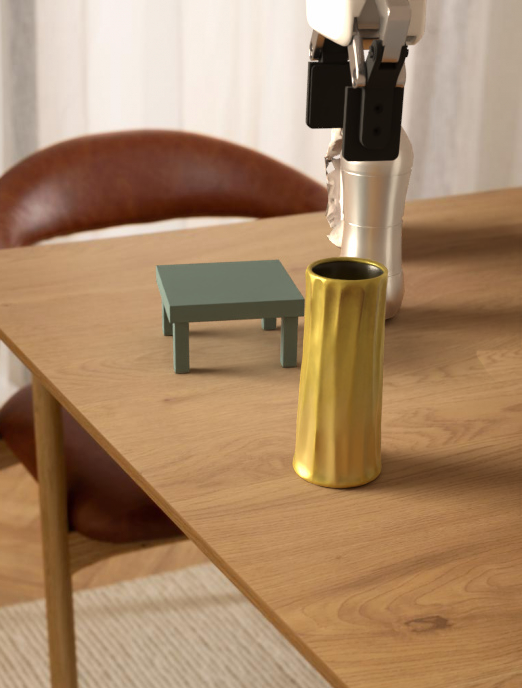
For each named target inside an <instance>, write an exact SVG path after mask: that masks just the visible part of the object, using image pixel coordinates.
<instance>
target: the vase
mask: <svg viewBox="0 0 522 688" xmlns="http://www.w3.org/2000/svg"><path fill="white" fill-rule="evenodd" d="M304 275H305V277H304V278H305V296H304V299H305V308H304V319H303V320H304V323H303V341H302V358H301V365H300V375H299V383H298V384H299V386H298V388H299V389H298V400H297V401H298V402H297V409H296V410H297V412H296V425H295V426H296V427H295V448H294V453H293V458H292V462H291V463H292V468H293V469H294V472H295V474H296V475H297V476H298V477H300V478H301V479H302V480H304V481H306V482H307V483H310V484H313V485H316V486H318V487H325V488H332V489H347V488H350V489H351V488H355V487H360V486H364V485H367V484H369V483H371V482H373V481H374V480H376V479H377V478H378V477H379V475H380V474H381V472H382V468H383V467H382V466H383V465H382V455H381V454H382V416H383V415H382V412H383V391H384V390H383V389H384V359H385V358H384V355H385V335H386V334H385V331H386V319H385V313H386V292H387V282H388V269H387V268H386V267H385V266H384V265H383V264H381V263H379V262H377V261H374V260H370V259H365V258H358V257H340V256H331V257H325V258H320V259H318V260H315V261H313V262H311V263H309V264H308V265H307V266H306V269H305V273H304Z"/></svg>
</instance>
